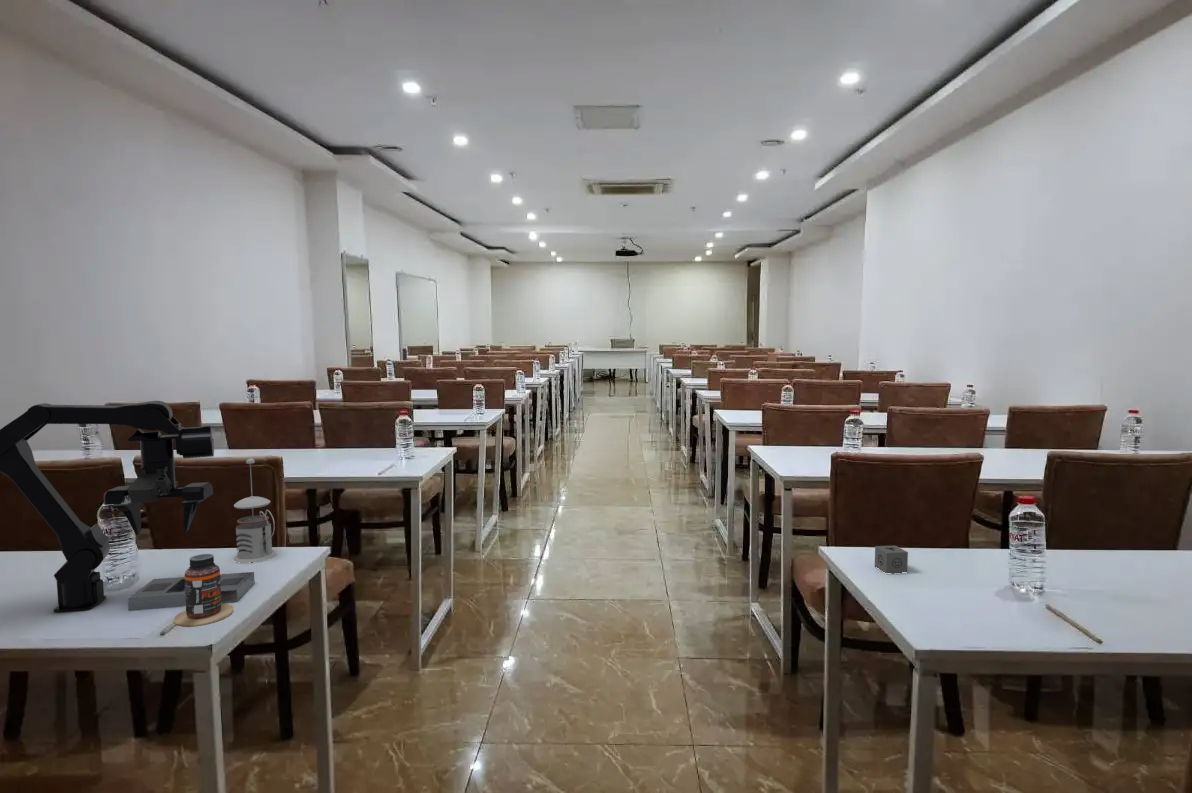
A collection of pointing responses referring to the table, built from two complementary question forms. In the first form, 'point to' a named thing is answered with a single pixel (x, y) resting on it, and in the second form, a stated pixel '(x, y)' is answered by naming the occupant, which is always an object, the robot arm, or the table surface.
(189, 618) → the cork coaster
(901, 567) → the dice cube
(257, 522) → the french press
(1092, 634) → the table surface
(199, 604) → the supplement bottle
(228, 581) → the grey compartment tray
